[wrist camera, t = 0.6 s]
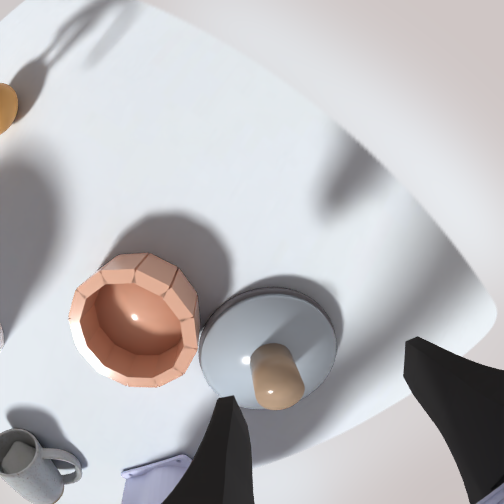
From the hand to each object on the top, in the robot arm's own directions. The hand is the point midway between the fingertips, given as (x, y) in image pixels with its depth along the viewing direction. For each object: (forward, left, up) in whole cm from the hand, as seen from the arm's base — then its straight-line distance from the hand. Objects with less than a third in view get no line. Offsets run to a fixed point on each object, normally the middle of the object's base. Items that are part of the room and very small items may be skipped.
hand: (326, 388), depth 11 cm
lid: (-3, -3, -9) cm, 10 cm away
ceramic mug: (-33, -4, -10) cm, 35 cm away
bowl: (-8, +4, -10) cm, 14 cm away
